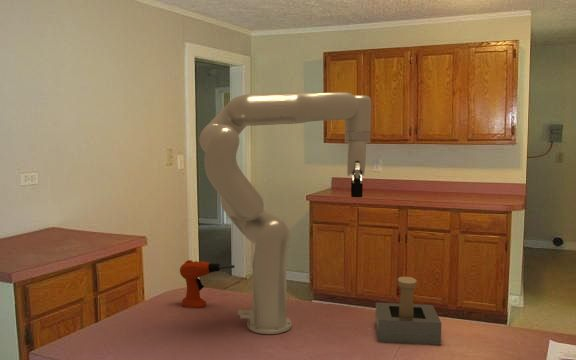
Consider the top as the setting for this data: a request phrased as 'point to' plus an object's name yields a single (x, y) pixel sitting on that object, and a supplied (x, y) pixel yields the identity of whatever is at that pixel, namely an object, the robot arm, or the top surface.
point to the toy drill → (197, 280)
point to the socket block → (408, 325)
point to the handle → (406, 296)
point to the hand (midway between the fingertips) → (356, 195)
